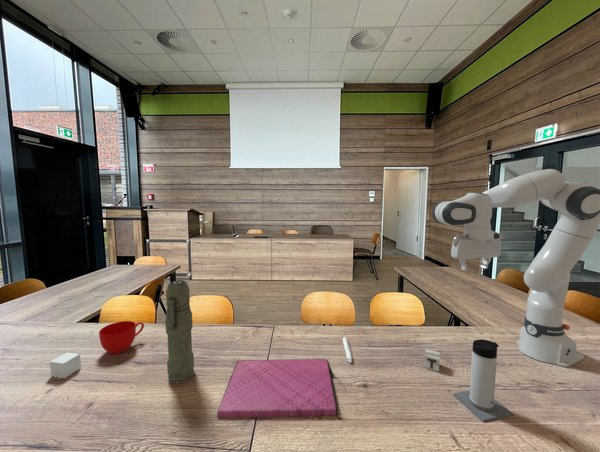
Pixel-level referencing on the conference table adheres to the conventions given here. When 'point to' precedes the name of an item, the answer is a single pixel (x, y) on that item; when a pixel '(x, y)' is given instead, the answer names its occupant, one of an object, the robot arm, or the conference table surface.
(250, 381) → the laptop bag
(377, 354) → the conference table surface
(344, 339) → the marker
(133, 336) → the ceramic cup
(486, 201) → the robot arm
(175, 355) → the thermos
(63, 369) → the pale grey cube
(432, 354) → the lettered cube
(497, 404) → the slate pad
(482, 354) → the travel mug
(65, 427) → the conference table surface
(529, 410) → the conference table surface
